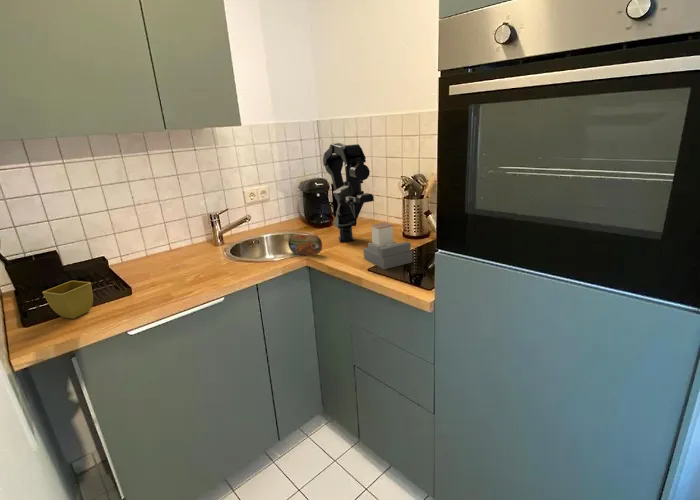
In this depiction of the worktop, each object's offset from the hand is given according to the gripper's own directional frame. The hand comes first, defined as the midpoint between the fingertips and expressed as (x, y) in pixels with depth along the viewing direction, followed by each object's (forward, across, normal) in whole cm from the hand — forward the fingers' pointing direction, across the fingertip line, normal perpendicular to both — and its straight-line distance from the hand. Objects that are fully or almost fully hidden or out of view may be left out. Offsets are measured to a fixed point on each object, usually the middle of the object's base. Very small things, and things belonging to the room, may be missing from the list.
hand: (356, 217), depth 150 cm
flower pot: (+14, -5, -96) cm, 97 cm away
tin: (+13, -9, -19) cm, 25 cm away
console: (+13, +19, +1) cm, 23 cm away
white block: (+9, +16, +1) cm, 18 cm away
